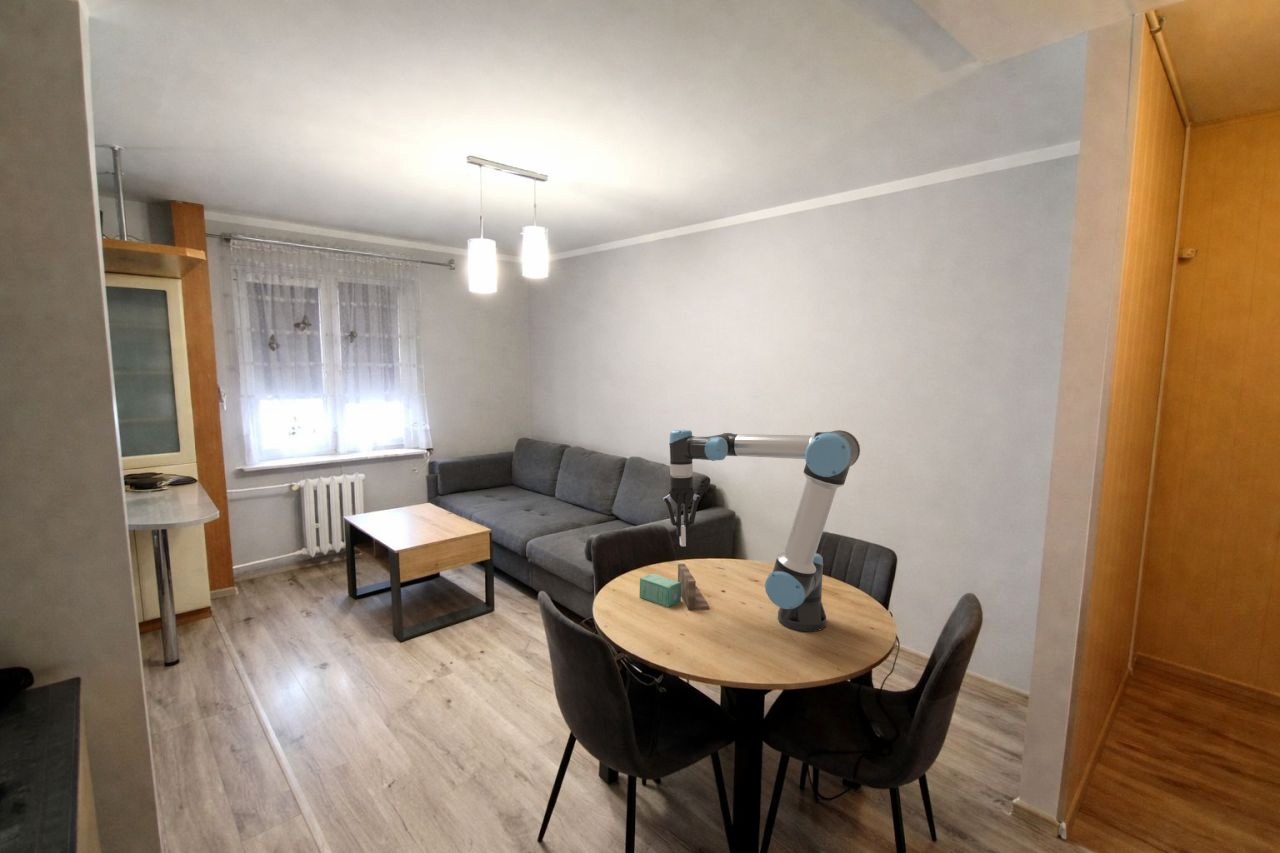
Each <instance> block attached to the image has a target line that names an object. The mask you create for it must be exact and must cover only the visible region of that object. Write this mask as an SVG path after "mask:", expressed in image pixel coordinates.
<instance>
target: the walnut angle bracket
mask: <svg viewBox="0 0 1280 853" xmlns="http://www.w3.org/2000/svg"><path fill="white" fill-rule="evenodd" d="M677 581H678V582H680V583H681V599H682V601H683V603H684V605H685V606H686V608H687V610H688V611H694V610H695V611H697V610H698V611H699V610H710V605H709V603H708V601H707V600H706V598H705V597H704V595H703V593H702V592H701V591H700V589H699V587H698V586H697V585H696V584H697V582H696V579H695V577H694V576H693V575H692V573H691V572H690V570H689V568H688V567H687V566H686V563H677Z"/></svg>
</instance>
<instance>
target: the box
mask: <svg viewBox="0 0 1280 853" xmlns="http://www.w3.org/2000/svg"><path fill="white" fill-rule="evenodd" d="M639 598H641V599H644V600H647V601H650V602H652V603H655V604H657V605H661V606H662V607H665V608H670V607H673V606H674V605H676V604H677V603H681V599H682V597H681V583H680V582H678V580H675V579H671V578H669V577H668V578H667V577H665V576H662V575H659V574H656V573H650V574H647V575H644V576H642V577H640V578H639Z"/></svg>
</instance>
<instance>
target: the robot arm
mask: <svg viewBox="0 0 1280 853" xmlns="http://www.w3.org/2000/svg"><path fill="white" fill-rule="evenodd" d="M668 444H669V460H670V461H669V462H670V463H669V464H670V465H669V471H670V472H669V473H670V476H671V477H670V481H669V482H670V484H669V485H670V490H669V492H668V494H667V495H666V496H663V497H662V500H663V501H664V503H665V505H666V509H667V513H668V516H669V520H670V523H671V525H672V526H675V527H676V536H678V537H679V545H680V547H687V537H688V536H689V534H690V533H689V527H690V526H691V525H694V524H695V519H696V515H697V510H698V507H699V503H700V501H701V500H702V497H701V496H700V495H699V494H697V493H695V491H694V490H695V489H694V477H693V473H694V472H693V460H703V461H712V462H713V461H724V460H725V459H726V457H750V458H753V457H754V458H772V459H773V458H774V459H793V460H796V459H797V460H805V465H804V469H803V474H804V475H803V476H805V478H806V481H805V484H804V487H803V491H802V493H801V497H800V500H799V502H798V507H797V510H796V513H795V515H794V519H793V522H792V525H791V529H790V533H789V536H788V539H787V542H786V545H785V548H784V551H782V552H780V553H778V555H777V556H776V560H775V564H774V566H773V569H772V572H771V573H769V575H768V576H767V577H766V580H765V584H764V588H765V593H766V595H767V597H768V599H769V600H770V601H771V603H772V604H774V606H776V607H779V609H778V611H777V620H779V621H778V623H780V624H781V625H782V624H783V625H782V626H784V627H786V628H788V629H791V628H792V629H791V630H794V629H795V630H794V631H799V630H800V632H816V631H815V630H819V629H822V628H824V627H825V626H827V615H826V612H825V608H824V605H823V602H822V595H823V574H824V573H823V571H824V570H823V568H824V563H823V562H824V561H823V559H824V558H823V556H822V555H821V554H820V553H817V550H818V548H819V544H820V542H821V538H822V536H823V532H824V529H825V526H826V522H827V520H828V517H829V515H830V510H831V508H832V507H831V506H832V504H833V502H834V498H835V495H836V493H837V489H838V488H841V487H843V486H845V483H846V480H847V477H848V473H849V470H850V467H851V466H853V465H855V464H856V463H857V461H858V460H859V458H860V455H861V446H860V443H859V441H858V439H857V438H856V436H854V435H853V434H852V433H850V432H849V431H845V430H841V429H840V430H839V429H838V430H833V431H821V432H820V431H819V432H818V431H816V432H815V433H814V434H812V435H811V434H810V435H808V434H806V435H805V434H802V435H801V434H761V433H760V434H757V433H756V434H754V433H753V434H752V433H746V434H745V433H738V434H737V433H732V432H724V433H721V434H716V435H710V436H694V435H693V432H692V430H690V429H673V430H671V431H670V433H669V443H668ZM672 500H673V502H674V503H675V515H674V511H673V507H672V504H671V502H672ZM691 500H693V501H692V504H691V509H690V513H689V506H690V501H691ZM682 507H683V508H682ZM682 509H683V512H682ZM682 514H683V516H682ZM682 517H683V525H682ZM825 628H826V627H825ZM825 628H824V629H825ZM822 630H823V629H822ZM819 631H820V630H819Z"/></svg>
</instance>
